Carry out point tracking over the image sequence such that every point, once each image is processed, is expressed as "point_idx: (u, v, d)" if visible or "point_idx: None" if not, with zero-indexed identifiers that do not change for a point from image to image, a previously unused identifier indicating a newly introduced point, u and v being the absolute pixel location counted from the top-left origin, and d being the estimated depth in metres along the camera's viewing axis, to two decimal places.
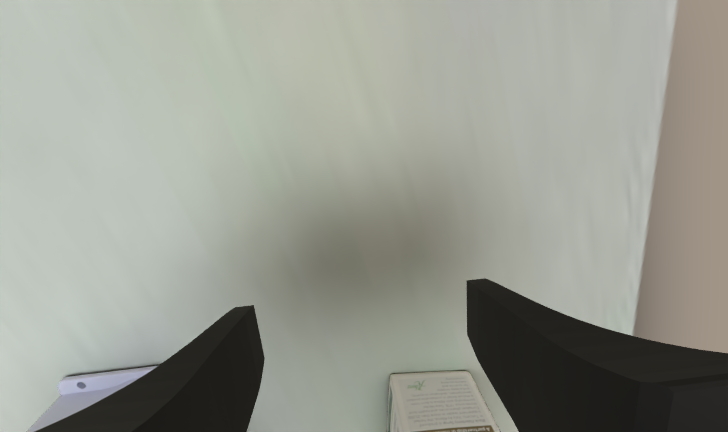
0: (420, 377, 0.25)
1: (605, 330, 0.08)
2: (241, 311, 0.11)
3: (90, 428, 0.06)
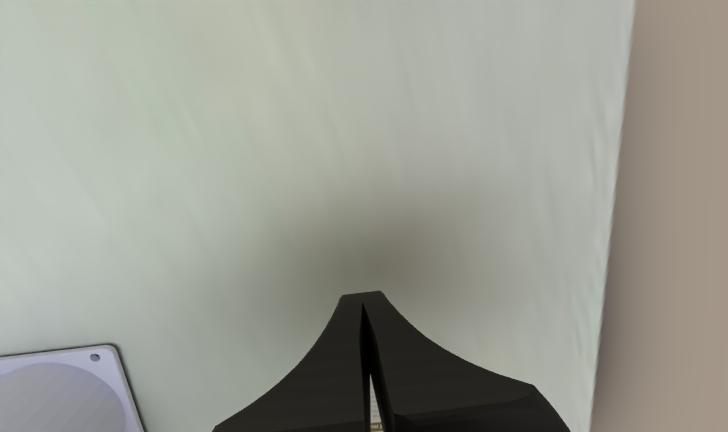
0: None
1: (444, 350, 0.08)
2: (356, 298, 0.11)
3: (309, 400, 0.06)
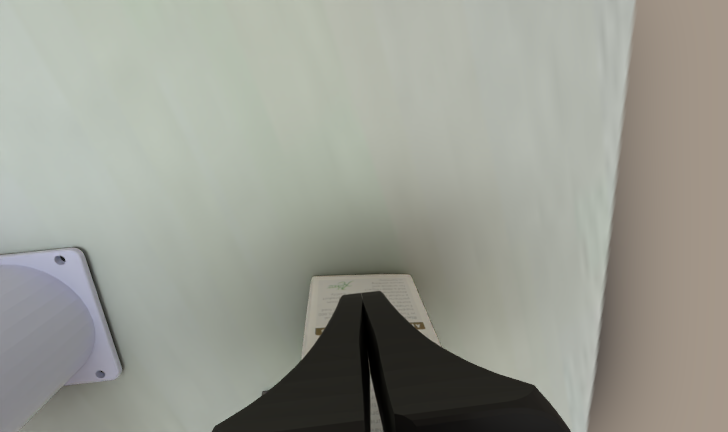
0: (348, 278, 0.20)
1: (445, 350, 0.08)
2: (355, 298, 0.11)
3: (309, 400, 0.06)
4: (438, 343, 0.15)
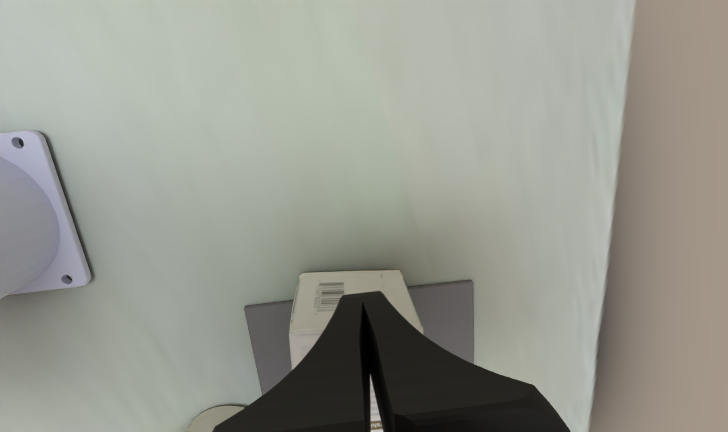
0: None
1: (445, 350, 0.08)
2: (356, 298, 0.11)
3: (309, 401, 0.06)
4: None
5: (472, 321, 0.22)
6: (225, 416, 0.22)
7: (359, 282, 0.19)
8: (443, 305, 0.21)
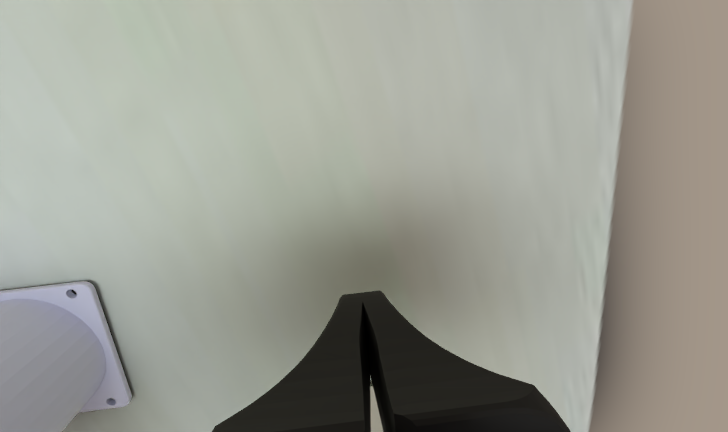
0: None
1: (445, 350, 0.08)
2: (356, 298, 0.11)
3: (309, 400, 0.06)
4: None
5: None
6: None
7: (373, 405, 0.21)
8: None
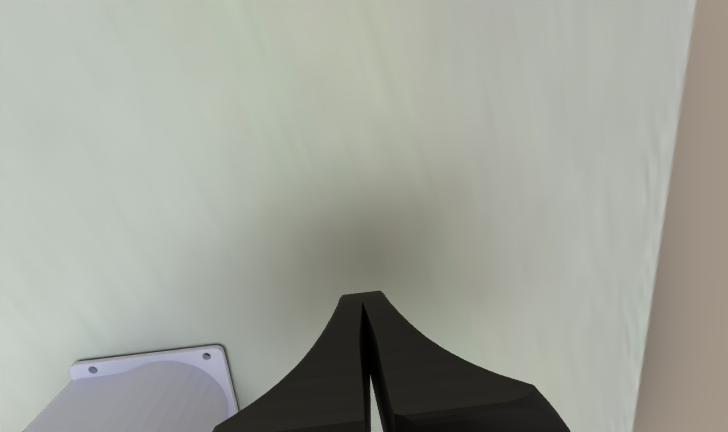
0: None
1: (444, 349, 0.08)
2: (356, 298, 0.11)
3: (309, 400, 0.06)
4: None
5: None
6: None
7: None
8: None
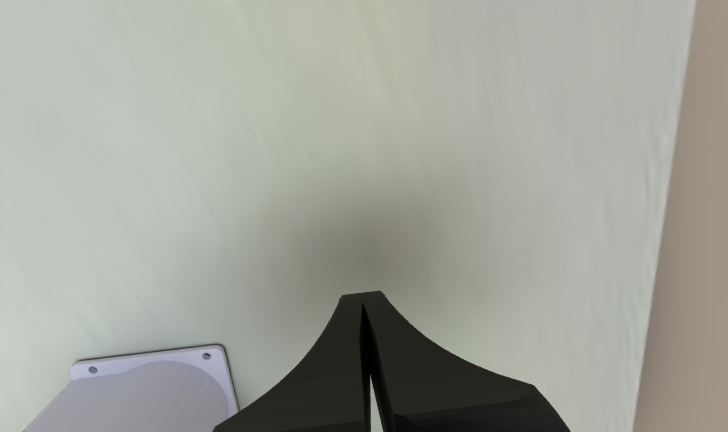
0: None
1: (444, 349, 0.08)
2: (356, 298, 0.11)
3: (309, 400, 0.06)
4: None
5: None
6: None
7: None
8: None
